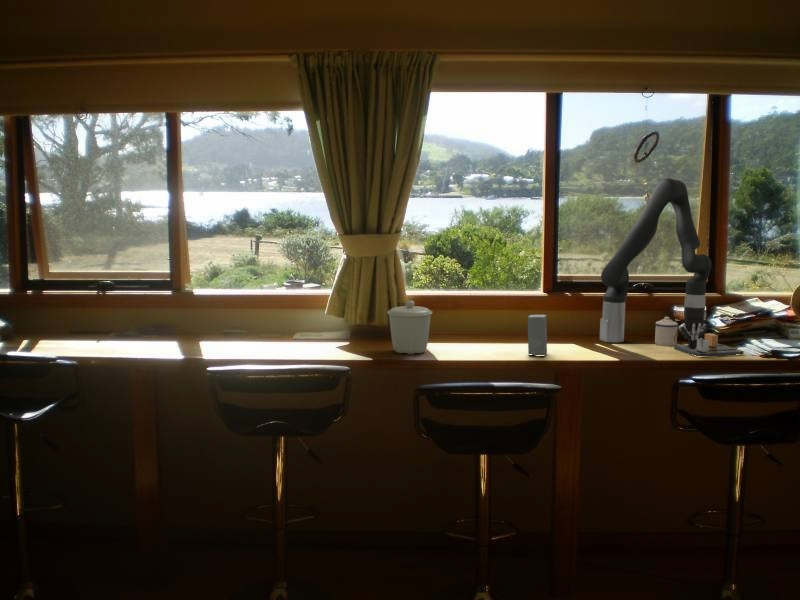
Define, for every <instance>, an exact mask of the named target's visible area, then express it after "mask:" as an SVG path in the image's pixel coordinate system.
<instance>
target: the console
mask: <svg viewBox="0 0 800 600" xmlns="http://www.w3.org/2000/svg"><path fill="white" fill-rule="evenodd" d="M673 347H674V348H673V349H674V350H675V349H676V350H675V351H678V350H679V351H678V352H681V351H682V353H684V352H686V353H685V354H687V353H689V354H688V355H690V354H693V355H696V356H718V357H726V356H725V355H736V354H745V353H744V350H741V349H737V348H734V347H731V346H727V345H725V344H721V343H718V344H717V346H709V348H708V352H701V351H698V350H695V349H694V350H691V349H689V347H688V344H678V345H677V344H676V345H674V346H673ZM693 355H692V356H693ZM736 356H737V355H736Z"/></svg>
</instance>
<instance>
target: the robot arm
mask: <svg viewBox="0 0 800 600" xmlns="http://www.w3.org/2000/svg"><path fill="white" fill-rule="evenodd" d="M689 201H690V200H689V193H688V188H687V186H686V184H685V183H684V182H683V181H682V180H678V179H674V178H669V177H668V178H663V179H661V180H660V181H659V182H658V184H657V185H656V187H655V188H654V190H653V193H652V194H651V196H650V198H649V200H648V202H647V204H646V205H645V207H644V209H643V210H642V212H641V213H640V215H639V216H638V219H637V220H636V221H635V223H634V224H633V226H632V227H631V229H630V230H629V232H628V233H627V235H626V236H625V238H624V240H623V241H622V243H621V245H620V246H619V248H618V250H617V251H616V252H615V254H614V255H613V256H612V258H611V259H610V260H609V262H607V264H606V265H605V266H604V268H603V269H602V271H601V274H600V280H601V282H602V284H604V285H605V286H606V287H607V289H606V292H605V293H604V294H603V297H602V317H600V319H599V320H600V322H599V325H600V326H599V340H600V341H602V342H605V343H623V342H624V341H625V339H624V338H625V319H626V317H625V316H626V315H625V314H626V299H627V297H628V293H629V283H630V282H629V281H630V274H629V270H628V266H629V265H630V264H631V263H632V261H634V259H636V257H638V256H639V255H640V254H641V253H642V252H643V251H645V249H646V248H647V247H648V246H649V244H650V243H651V241H652V240H653V238H654V237H655V235H656V233H657V230H658V225H659V219H660V216H661V214H662V213H663V210H665V208H666V207H667V205H668V204H669V203H670V204H671V205H672V208H673V210H674V213H675V216H676V217H675V218H676V222H675V224H676V225H675V229H676V230H675V231H676V235H677V239H678V242H679V245H680V247H681V264H682V267H683V269H684V271H686V272H688V274H689V273H690V274H693V275H692V276H693V277H692V278H688V279H687V280H686V283H685V284H686V285H685V297H684V306H683V321H682V323H681V325H678V327H677V330H679V333H681V335H682V336H683V338H684V339H687V340H688V341H687V342H688V343H687V345H688V347H689V349H691V350H694V349H696V347H697V340H698V339H699V338H702V339H703V338H704V337H705V334H707V332H708V330H709V328H710V325H707V324H706V323H705V320H704V319H705V316H706V289H707V288H706V287H707V285H706V284H707V282H708V279H709V276H710V272H711V270H712V259H711V258H710V257H709V255H708V254H704V253H702V254H701V253H700V254H699V253H698V254H696V250H697V249H699V248H700V246H701V241H700V238H699V235H698V232H697V230H696V226H695V223H694V221H693V220H694V219H693V217H692V216H693V215H692V212H691V206H690V202H689Z"/></svg>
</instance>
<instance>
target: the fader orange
mask: <svg viewBox="0 0 800 600" xmlns="http://www.w3.org/2000/svg"><path fill="white" fill-rule="evenodd" d="M704 339H706V340H709V346H717V344H719V341H718V340H719V335H717V334H715V333H711V332H708V333H707V332H706V333H705V334H704Z"/></svg>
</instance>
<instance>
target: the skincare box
mask: <svg viewBox="0 0 800 600" xmlns="http://www.w3.org/2000/svg"><path fill="white" fill-rule="evenodd" d="M547 324H548V323H547V314H530V315H528V317H527V344H528V345H527V350H528V354H532V355H545V354H546V353H548V338H547V337H548V333H547V326H548V325H547ZM546 355H547V354H546ZM546 355H545V356H546Z"/></svg>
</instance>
